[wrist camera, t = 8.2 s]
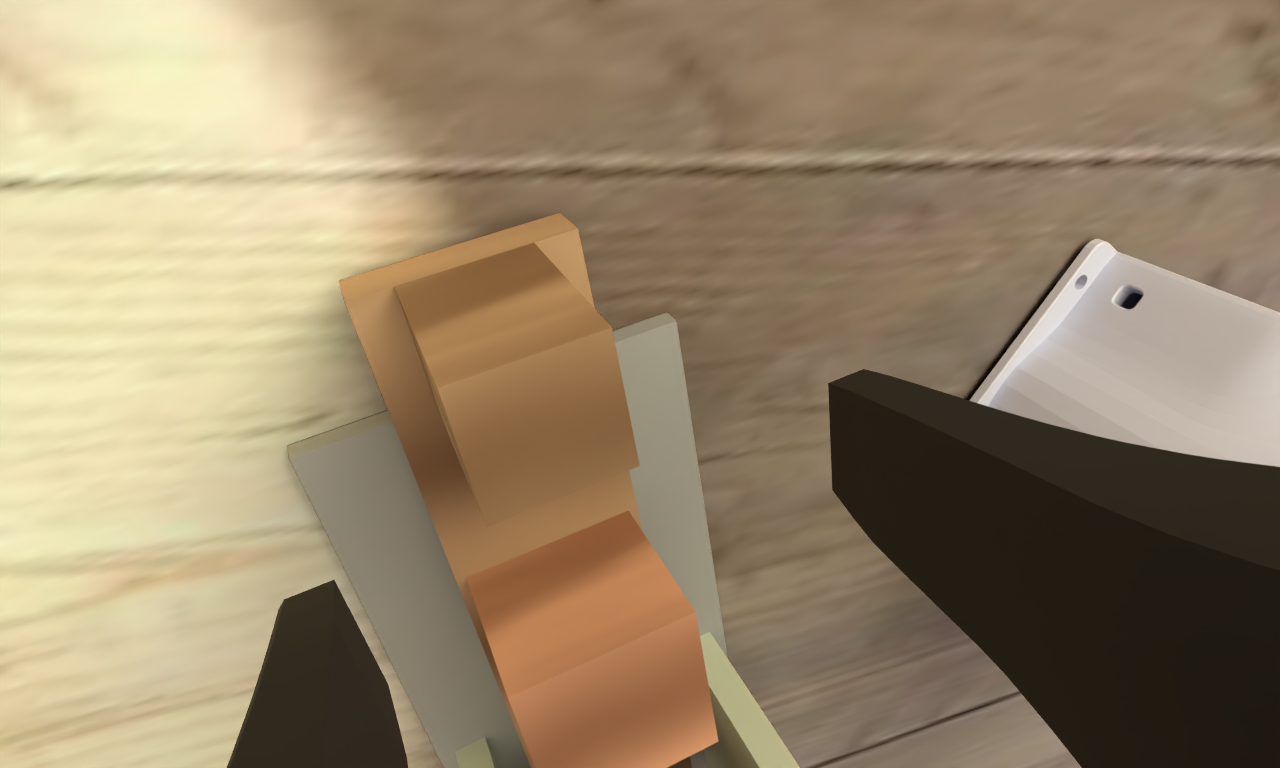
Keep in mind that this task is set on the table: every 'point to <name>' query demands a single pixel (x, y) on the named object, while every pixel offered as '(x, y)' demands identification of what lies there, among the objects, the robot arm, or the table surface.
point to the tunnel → (747, 742)
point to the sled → (538, 493)
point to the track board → (422, 577)
